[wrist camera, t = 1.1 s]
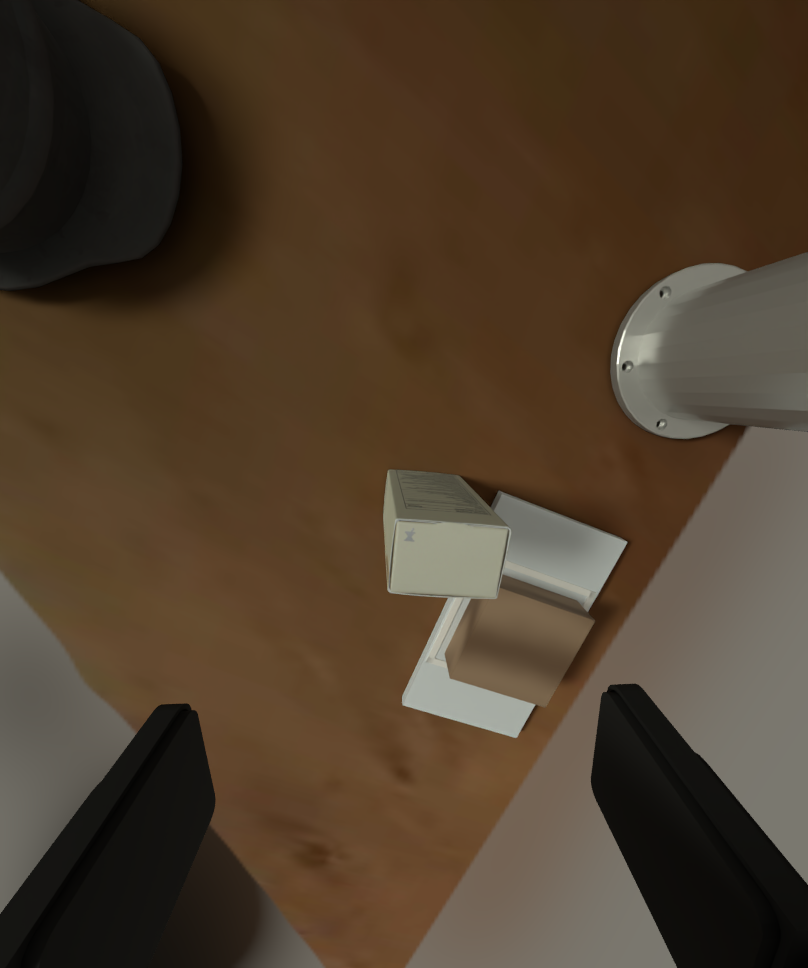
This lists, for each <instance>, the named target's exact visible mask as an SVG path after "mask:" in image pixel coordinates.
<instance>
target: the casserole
mask: <svg viewBox="0 0 808 968" xmlns="http://www.w3.org/2000/svg"><path fill="white" fill-rule="evenodd" d="M182 164H183V161H182V148H181V135H180V126H179V122H178V117H177V113H176V109H175V104H174V100H173V96H172V92H171V90H170V88H169V85H168V83H167V81H166V78H165V76H164V73H163V71H162V69H161V66H160V64H159V62H158V61H157V60H156V59H155V57H154V56H153V55H152V53H151V52H150V51H149V50H148V48H147V47H146V46H145V44H144V43H143V42H142V41H141V39H140V38H138V37H137V36H135V35H134V34H132V33H131V32H129V31H128V30H126V29H125V28H123V27H122V26H120V25H119V24H117V23H115V22H114V21H112V20H111V19H109V18H107V17H106V16H104V15H102V14H101V13H99V12H97V11H95V10H94V9H92V8H90V7H89V6H87V5H85V4H84V3H82V2H80V1H78V0H0V290H7V291H14V290H21V289H28V288H35V287H41V286H43V285H46V284H48V283H51V282H53V281H56V280H58V279H61V278H63V277H66V276H68V275H71V274H73V273H76V272H78V271H80V270H83V269H85V268H88V267H92V266H100V265H107V264H114V263H120V262H125V261H130V260H135V259H140V258H143V257H144V256H145V255H147V254H148V253H149V252H150V251H152V250H153V249H154V248H156V247H157V246H158V245H159V244H160V242H161V241H162V239H163V237H164V235H165V234H166V232H167V230H168V228H169V226H170V225H171V222H172V219H173V215H174V212H175V209H176V205H177V202H178V198H179V193H180V184H181V174H182Z"/></svg>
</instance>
